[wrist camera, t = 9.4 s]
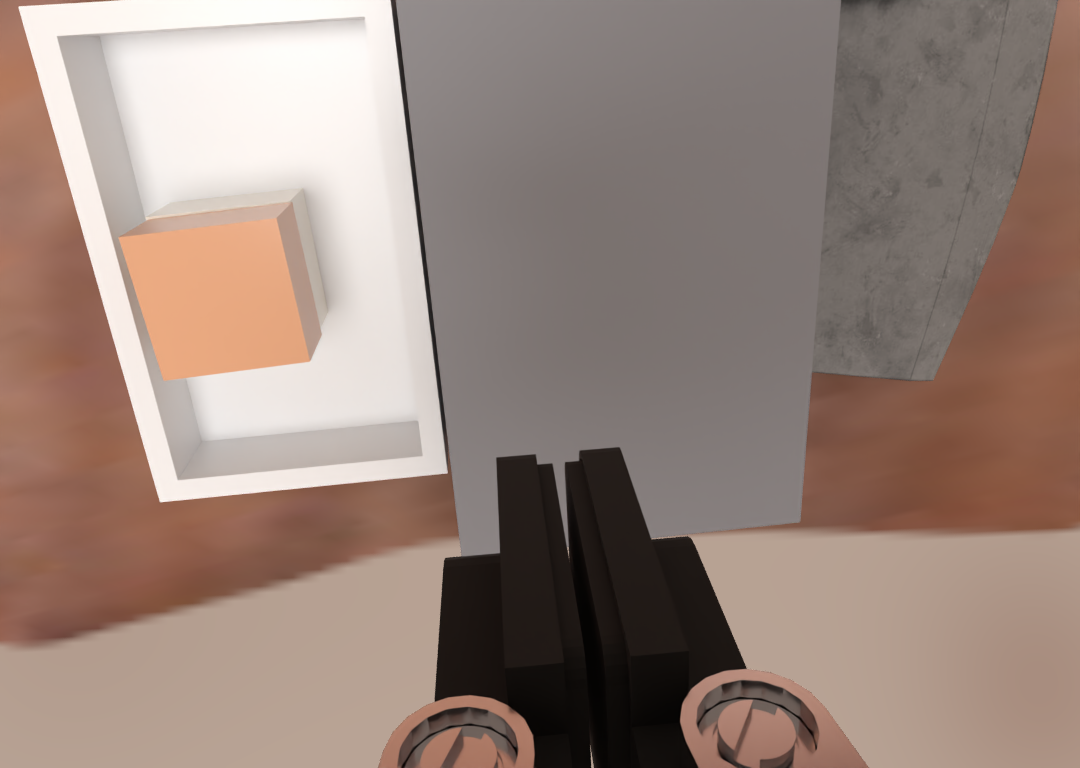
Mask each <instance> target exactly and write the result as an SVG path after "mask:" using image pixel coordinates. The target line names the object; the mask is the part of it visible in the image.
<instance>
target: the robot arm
mask: <svg viewBox="0 0 1080 768" xmlns="http://www.w3.org/2000/svg"><path fill="white" fill-rule="evenodd" d="M496 466H497V490H498V515H499V540H500V553H495V554H484V555H473V556H461V557H450V558H445V560H444V568H443V582H442V598H441V612H440V628H439V644H438V658H437V673H436V689H435V702H434V703H431V704H428V705H426V706H424V707H422V708H421V709H419V710H418V711H416V712H414V713H413V714H411V715H410V716H408V717H407V718H406V719H405V720H404V721H403V722H402V723H401V724H400V725H399V726H398V727H397V728H396V730H395V731H394V732H393V733H392V735H391V737H390V739H389V741H388V743H387V744H386V746H385V748H384V750H383V753H382V757H381V759H380V763H379V766H378V768H591V752H592V757H593V764H594V768H869V767H868V766H867V764H866V763H865V761H864V760H863V759H862V757H861V756H860V755H859V753H858V752H857V750H856V749H855V748H854V746H853V745H852V744H851V742H850V741H849V739H848V738H847V737H846V735H845V734H844V732H843V731H842V730H841V728H840V727H839V726H838V724H837V723H836V721H835V720H834V719H833V717H832V716H831V714H830V713H829V712H828V710H827V709H826V708H825V706H823V704H822V703H821V702H820V701H819V700H818V699H817V698H816V697H815V696H814V695H813V694H812V693H811V692H810V691H808V690H807V689H805V688H803V687H802V686H800V685H798V684H797V683H795V682H794V681H792V680H790V679H787V678H785V677H782V676H779V675H776V674H773V673H771V672H765V671H758V670H750V669H747V668H746V666H745V663H744V661H743V659H742V656H741V654H740V652H739V649H738V647H737V644H736V642H735V640H734V637H733V635H732V633H731V630H730V628H729V625H728V623H727V621H726V618H725V616H724V613H723V611H722V609H721V606H720V604H719V602H718V599H717V597H716V595H715V592H714V590H713V587H712V585H711V583H710V580H709V578H708V576H707V573H706V571H705V568H704V566H703V564H702V561H701V559H700V557H699V554H698V552H697V550H696V547H695V545H694V543H693V541H692V539H691V538H689V537H688V536H687V537H676V538H664V539H653V540H651V537H650V534H649V531H648V528H647V525H646V522H645V519H644V516H643V513H642V510H641V507H640V504H639V501H638V498H637V495H636V493H635V490H634V487H633V484H632V481H631V478H630V475H629V472H628V469H627V466H626V463H625V460H624V457H623V454H622V451H621V449H620V447H614V448H602V449H590V450H580V451H579V461H573V462H565V485H566V504H567V524H568V543H569V556H568V550H567V545H566V539H565V533H564V527H563V521H562V515H561V510H560V504H559V498H558V492H557V486H556V480H555V474H554V469H553V463H549V464H537V458H536V454H531V455H519V456H507V457H496ZM590 745H591V752H590Z"/></svg>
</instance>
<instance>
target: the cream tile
mask: <svg viewBox="0 0 1080 768" xmlns="http://www.w3.org/2000/svg"><path fill="white" fill-rule="evenodd" d="M288 202H292V203H293V208H294V212H295V217H296V221H297V225H298V230H299V234H300V239H301V243H302V248H303V252H304V257H305V261H306V266H307V270H308V274H309V279H310V283H311V288H312V292H313V297H314V301H315V306H316V310H317V314H318V319H319V323H320V328H321V327H322V325H323V322H324V320H325V318H326V316H327V314H328V307H327V302H326V298H325V293H324V288H323V283H322V278H321V273H320V268H319V264H318V259H317V254H316V249H315V244H314V239H313V234H312V229H311V225H310V220H309V215H308V210H307V205H306V200H305V195H304V191H303V188H298V189H289V190H280V191H271V192H261V193H252V194H243V195H234V196H225V197H215V198H206V199H197V200H188V201H179V202H170V203H169V204H167V205H165V206H163V207H162V208H160V209H158V210H157V211H155V212H153V213H152V214H150V215H148V216H146V217H145V219H146V221H147V220H148V219H156V218H164V217H173V216H181V215H189V214H197V213H205V212H214V211H222V210H230V209H238V208H246V207H255V206H263V205H271V204H279V203H288Z"/></svg>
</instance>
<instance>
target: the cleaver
mask: <svg viewBox="0 0 1080 768" xmlns="http://www.w3.org/2000/svg"><path fill="white" fill-rule="evenodd" d="M1057 2H1058V0H841V8H840V20H839V33H838V46H837V58H836V71H835V84H834V97H833V109H832V122H831V135H830V148H829V160H828V173H827V186H826V199H825V211H824V224H823V237H822V250H821V262H820V275H819V288H818V300H817V313H816V326H815V339H814V351H813V364H812V372H814V373H826V374H838V375H849V376H861V377H873V378H884V379H896V380H908V381H933V379H934V377H935V375H936V373H937V371H938V368H939V366H940V364H941V362H942V360H943V358H944V355H945V353H946V351H947V349H948V346H949V344H950V342H951V340H952V338H953V335H954V333H955V331H956V329H957V326H958V324H959V322H960V320H961V317H962V315H963V313H964V311H965V309H966V306H967V304H968V302H969V300H970V297H971V295H972V293H973V291H974V288H975V286H976V283H977V281H978V279H979V276H980V274H981V272H982V269H983V267H984V264H985V262H986V260H987V257H988V255H989V252H990V250H991V248H992V245H993V243H994V240H995V238H996V235H997V233H998V230H999V227H1000V225H1001V222H1002V220H1003V217H1004V214H1005V212H1006V209H1007V207H1008V204H1009V201H1010V199H1011V196H1012V193H1013V191H1014V188H1015V186H1016V182H1017V179H1018V176H1019V173H1020V170H1021V166H1022V162H1023V159H1024V155H1025V151H1026V147H1027V144H1028V140H1029V136H1030V132H1031V128H1032V124H1033V119H1034V115H1035V111H1036V106H1037V102H1038V97H1039V93H1040V89H1041V84H1042V80H1043V76H1044V71H1045V66H1046V60H1047V55H1048V50H1049V45H1050V40H1051V34H1052V29H1053V24H1054V19H1055V14H1056V8H1057Z"/></svg>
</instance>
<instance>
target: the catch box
mask: <svg viewBox="0 0 1080 768" xmlns="http://www.w3.org/2000/svg"><path fill="white" fill-rule="evenodd" d="M19 11H20V14H21V18H22V21H23V25H24V28H25V32H26V35H27V39H28V42H29V46H30V49H31V53H32V56H33V60H34V63H35V67H36V70H37V74H38V77H39V81H40V84H41V88H42V91H43V95H44V98H45V102H46V105H47V109H48V112H49V116H50V119H51V123H52V126H53V130H54V133H55V137H56V140H57V144H58V147H59V151H60V154H61V158H62V161H63V165H64V168H65V172H66V175H67V179H68V182H69V186H70V189H71V193H72V196H73V200H74V203H75V207H76V210H77V214H78V217H79V221H80V224H81V228H82V231H83V235H84V238H85V242H86V245H87V249H88V252H89V256H90V259H91V262H92V266H93V269H94V273H95V276H96V280H97V283H98V287H99V290H100V294H101V297H102V301H103V304H104V308H105V311H106V315H107V318H108V322H109V325H110V329H111V332H112V336H113V339H114V343H115V346H116V350H117V353H118V357H119V360H120V364H121V367H122V371H123V374H124V378H125V381H126V385H127V388H128V392H129V395H130V399H131V402H132V406H133V409H134V413H135V416H136V420H137V423H138V427H139V430H140V434H141V437H142V441H143V444H144V448H145V451H146V455H147V458H148V462H149V465H150V469H151V472H152V476H153V479H154V483H155V486H156V490H157V493H158V497H159V500H160V502H167V501H177V500H187V499H197V498H207V497H217V496H227V495H237V494H247V493H257V492H267V491H276V490H286V489H296V488H306V487H316V486H326V485H336V484H346V483H356V482H366V481H376V480H386V479H396V478H406V477H416V476H426V475H436V474H446V473H448V437H447V429H446V420H445V412H444V403H443V395H442V386H441V378H440V370H439V361H438V353H437V344H436V336H435V327H434V319H433V310H432V302H431V293H430V285H429V277H428V268H427V260H426V251H425V243H424V234H423V226H422V217H421V209H420V201H419V192H418V184H417V175H416V167H415V158H414V150H413V141H412V133H411V124H410V116H409V108H408V99H407V91H406V82H405V74H404V65H403V57H402V48H401V40H400V32H399V23H398V15H397V6H396V0H119V1H103V2H86V3H70V4H54V5H37V6H21V7H19ZM298 188H303V191H304V195H305V200H306V205H307V210H308V215H309V220H310V225H311V229H312V234H313V239H314V244H315V249H316V254H317V259H318V264H319V268H320V273H321V278H322V283H323V288H324V293H325V298H326V302H327V307H328V314H327V316H326V318H325V320H324V322H323V325H322V327H321V332H322V336H321V338H320V340H319V343H318V345H317V347H316V350H315V352H314V354H313V356H312V359H311V361H310V362H304V363H296V364H289V365H281V366H273V367H266V368H258V369H251V370H243V371H235V372H228V373H220V374H212V375H205V376H197V377H190V378H182V379H174V380H167V381H164V380H163V377H162V374H161V371H160V368H159V365H158V361H157V358H156V355H155V352H154V349H153V346H152V342H151V339H150V336H149V333H148V330H147V327H146V323H145V320H144V317H143V314H142V311H141V308H140V304H139V301H138V298H137V295H136V292H135V289H134V285H133V282H132V279H131V276H130V273H129V270H128V266H127V263H126V260H125V257H124V254H123V250H122V247H121V244H120V241H119V238H118V237H120V236H122V235H123V234H125V233H127V232H128V231H130V230H132V229H133V228H135V227H137V226H138V225H140V224H142V223H143V222H145V221H146V219H145V217H146V216H148V215H150V214H152V213H153V212H155V211H157V210H158V209H160V208H162V207H163V206H165V205H167V204H169V203H170V202H179V201H188V200H197V199H206V198H215V197H225V196H234V195H243V194H252V193H261V192H271V191H280V190H289V189H298Z"/></svg>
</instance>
